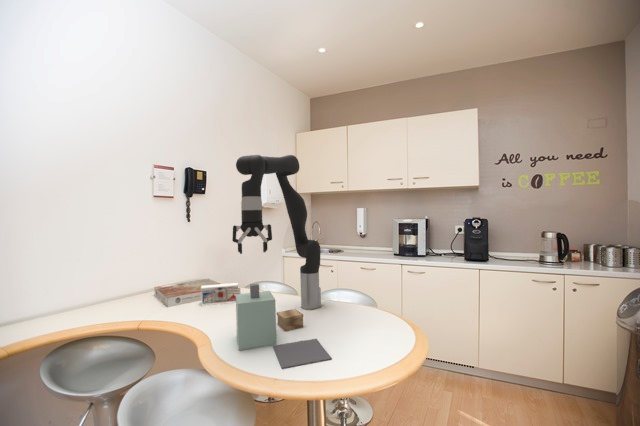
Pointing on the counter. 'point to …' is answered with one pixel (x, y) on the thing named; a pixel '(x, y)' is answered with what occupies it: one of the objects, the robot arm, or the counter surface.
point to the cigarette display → (219, 294)
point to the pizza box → (182, 292)
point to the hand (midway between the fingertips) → (252, 252)
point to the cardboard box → (290, 319)
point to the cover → (255, 319)
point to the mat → (300, 353)
